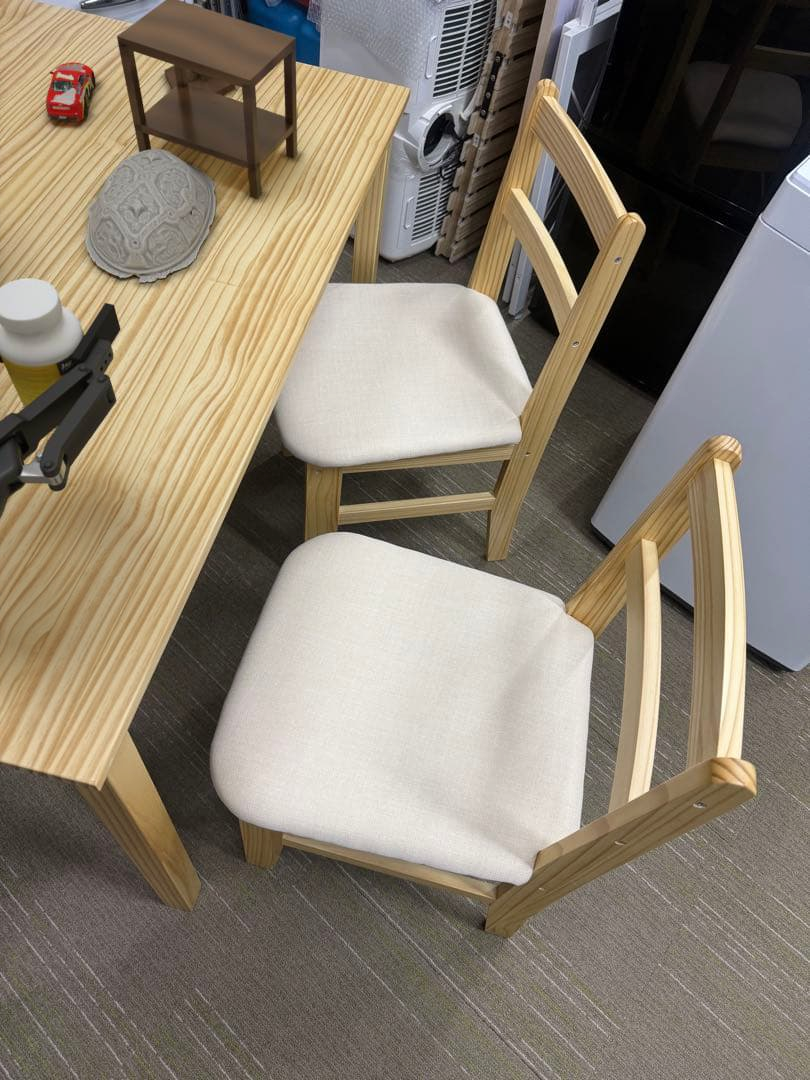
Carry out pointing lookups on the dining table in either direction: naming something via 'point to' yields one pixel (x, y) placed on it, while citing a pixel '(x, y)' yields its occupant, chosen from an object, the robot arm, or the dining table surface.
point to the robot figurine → (200, 77)
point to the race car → (70, 92)
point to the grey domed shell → (150, 216)
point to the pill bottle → (36, 336)
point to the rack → (203, 114)
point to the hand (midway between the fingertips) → (71, 307)
